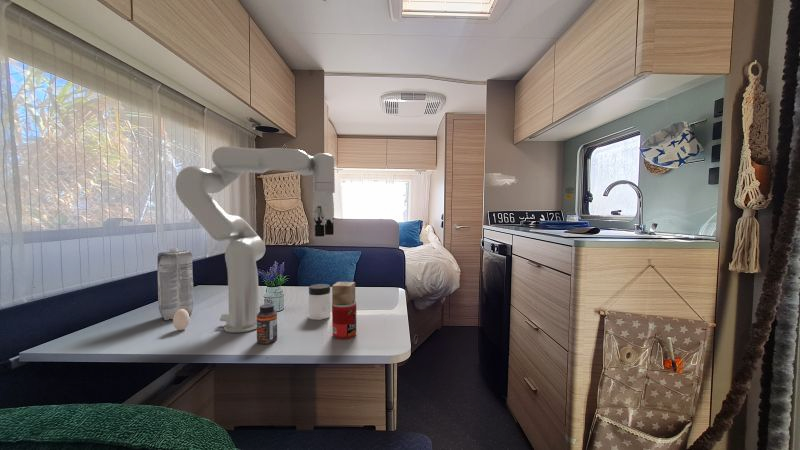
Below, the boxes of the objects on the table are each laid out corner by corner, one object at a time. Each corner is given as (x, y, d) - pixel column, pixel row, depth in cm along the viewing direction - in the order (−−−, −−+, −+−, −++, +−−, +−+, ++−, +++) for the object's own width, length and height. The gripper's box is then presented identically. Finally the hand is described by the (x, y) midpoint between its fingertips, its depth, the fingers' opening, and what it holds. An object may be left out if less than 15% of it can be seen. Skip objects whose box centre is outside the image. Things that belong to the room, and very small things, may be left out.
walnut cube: (332, 304, 96) (332, 285, 96) (338, 299, 102) (337, 281, 102) (350, 304, 96) (350, 286, 96) (355, 299, 102) (355, 282, 102)
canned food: (351, 340, 95) (351, 305, 94) (328, 338, 96) (327, 304, 96) (359, 331, 102) (359, 299, 102) (337, 329, 104) (337, 298, 104)
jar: (314, 321, 112) (314, 289, 111) (304, 316, 118) (303, 286, 117) (335, 316, 118) (335, 285, 118) (324, 311, 124) (324, 282, 123)
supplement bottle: (252, 343, 93) (251, 307, 92) (265, 336, 98) (265, 302, 98) (268, 345, 91) (268, 308, 91) (281, 338, 97) (280, 303, 97)
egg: (169, 332, 102) (169, 311, 102) (179, 327, 107) (179, 307, 107) (183, 332, 102) (183, 311, 102) (193, 327, 107) (192, 306, 107)
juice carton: (195, 315, 120) (193, 248, 119) (161, 322, 112) (159, 250, 111) (189, 311, 126) (188, 246, 125) (157, 317, 118) (155, 249, 117)
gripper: (322, 190, 118) (323, 234, 118) (304, 186, 101) (304, 237, 101) (341, 190, 117) (341, 234, 118) (325, 185, 100) (326, 237, 100)
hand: (324, 235), depth 109 cm, fingers open, 9 cm apart
